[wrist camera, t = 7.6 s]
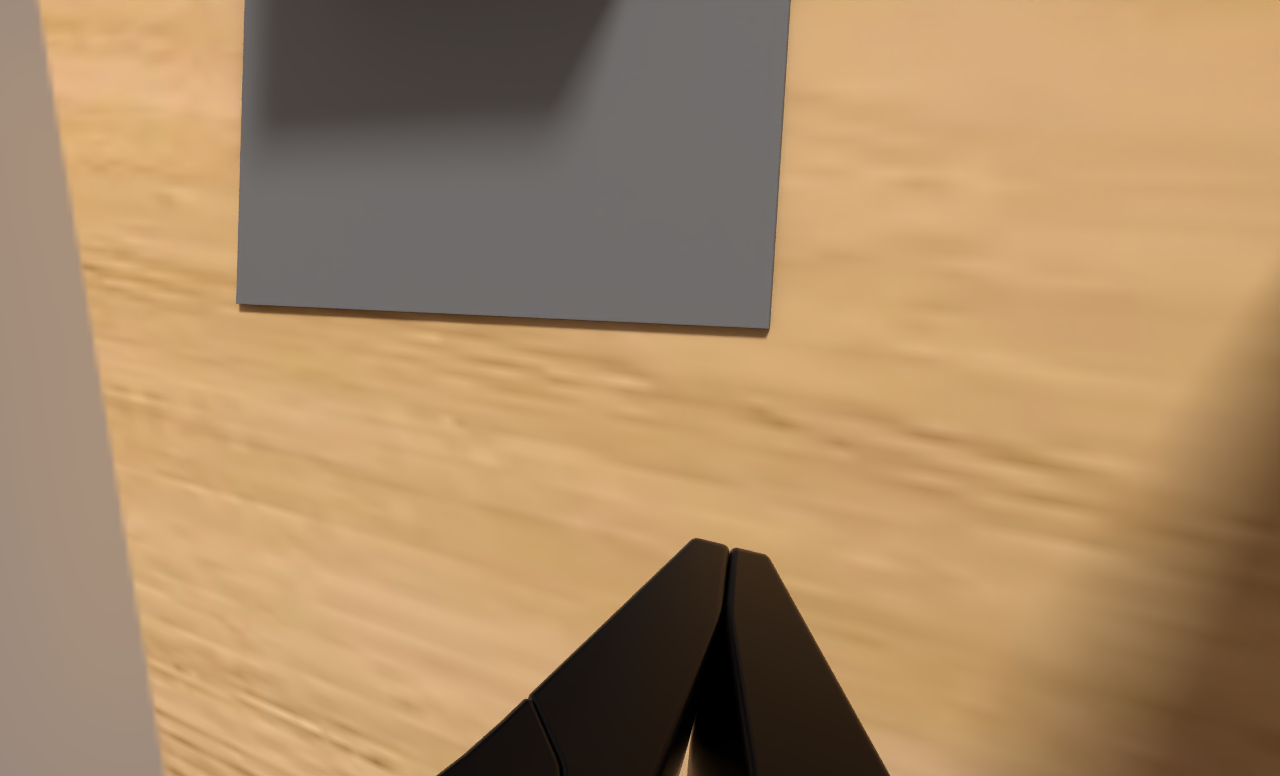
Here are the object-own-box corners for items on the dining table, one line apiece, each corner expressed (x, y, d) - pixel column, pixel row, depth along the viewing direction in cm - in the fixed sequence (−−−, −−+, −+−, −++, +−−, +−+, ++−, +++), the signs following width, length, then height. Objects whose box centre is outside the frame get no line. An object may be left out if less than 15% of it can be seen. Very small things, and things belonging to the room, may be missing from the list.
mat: (769, 328, 21) (768, 328, 21) (241, 304, 26) (236, 303, 26) (813, -362, 20) (812, -370, 20) (256, -247, 25) (251, -252, 25)
